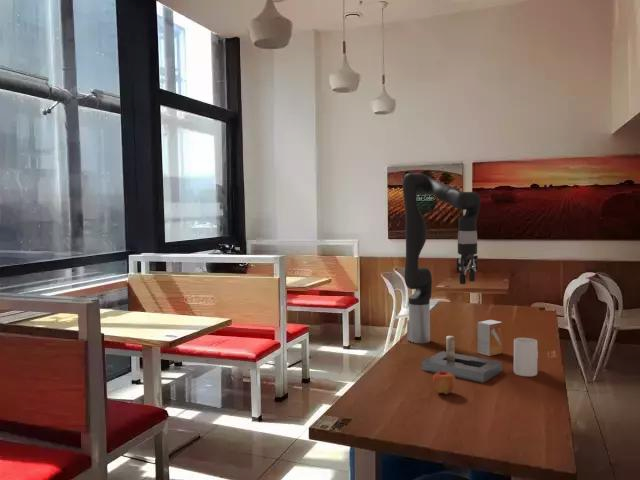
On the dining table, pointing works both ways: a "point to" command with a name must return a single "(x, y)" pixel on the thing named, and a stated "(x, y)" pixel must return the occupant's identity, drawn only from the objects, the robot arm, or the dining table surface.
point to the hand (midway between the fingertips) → (467, 282)
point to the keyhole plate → (463, 366)
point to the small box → (490, 337)
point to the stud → (450, 348)
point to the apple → (444, 382)
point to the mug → (525, 356)
